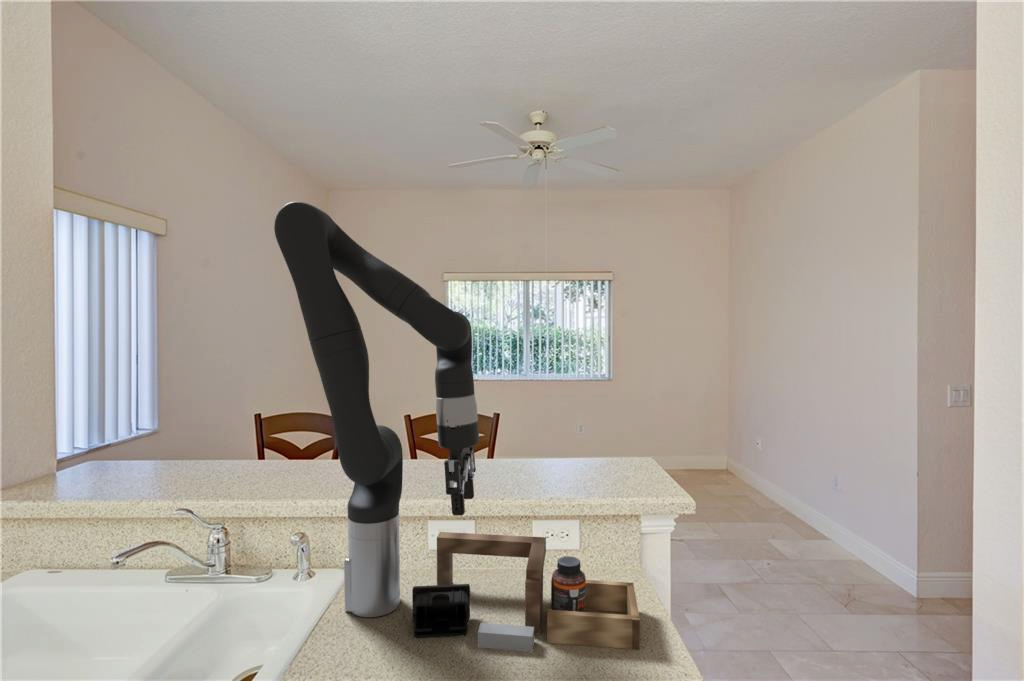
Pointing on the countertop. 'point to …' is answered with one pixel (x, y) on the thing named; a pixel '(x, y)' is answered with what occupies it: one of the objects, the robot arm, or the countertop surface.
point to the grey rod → (506, 637)
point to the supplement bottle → (568, 586)
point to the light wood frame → (599, 618)
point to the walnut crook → (498, 547)
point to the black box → (441, 610)
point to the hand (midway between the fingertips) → (463, 506)
